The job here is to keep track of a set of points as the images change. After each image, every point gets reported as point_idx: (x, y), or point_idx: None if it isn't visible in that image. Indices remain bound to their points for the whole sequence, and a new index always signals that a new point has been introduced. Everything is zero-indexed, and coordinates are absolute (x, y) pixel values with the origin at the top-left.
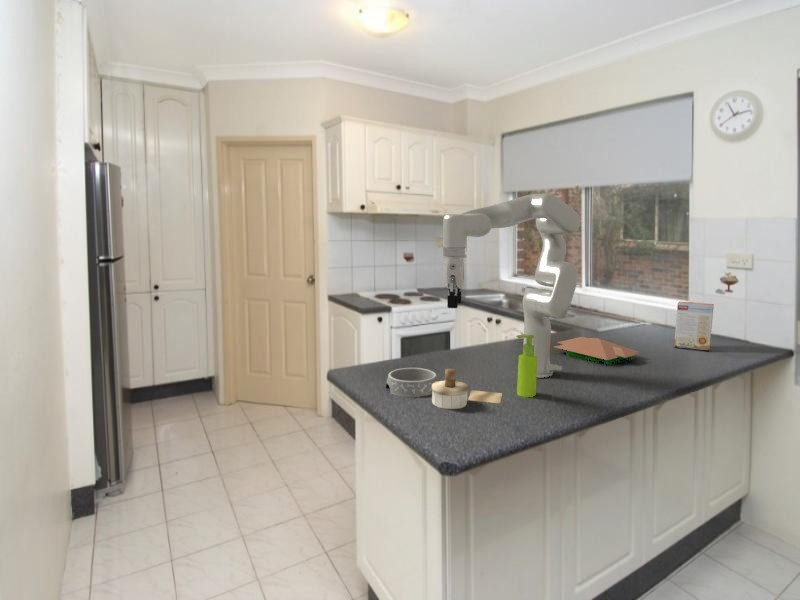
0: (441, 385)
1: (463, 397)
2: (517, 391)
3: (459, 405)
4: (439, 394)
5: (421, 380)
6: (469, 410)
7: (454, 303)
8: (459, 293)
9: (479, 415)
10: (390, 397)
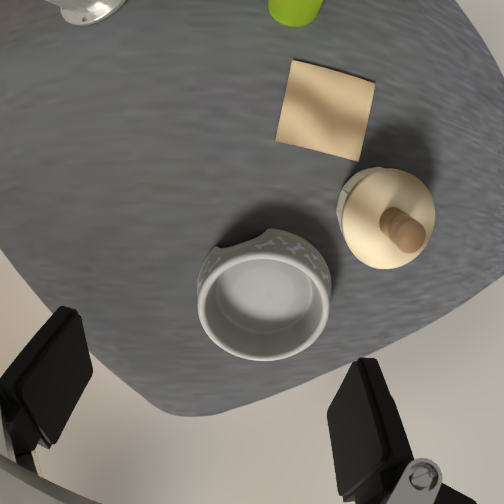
0: (387, 244)
1: None
2: (298, 23)
3: None
4: None
5: (218, 276)
6: (413, 166)
7: (396, 407)
8: (33, 386)
9: (439, 150)
10: (328, 331)
